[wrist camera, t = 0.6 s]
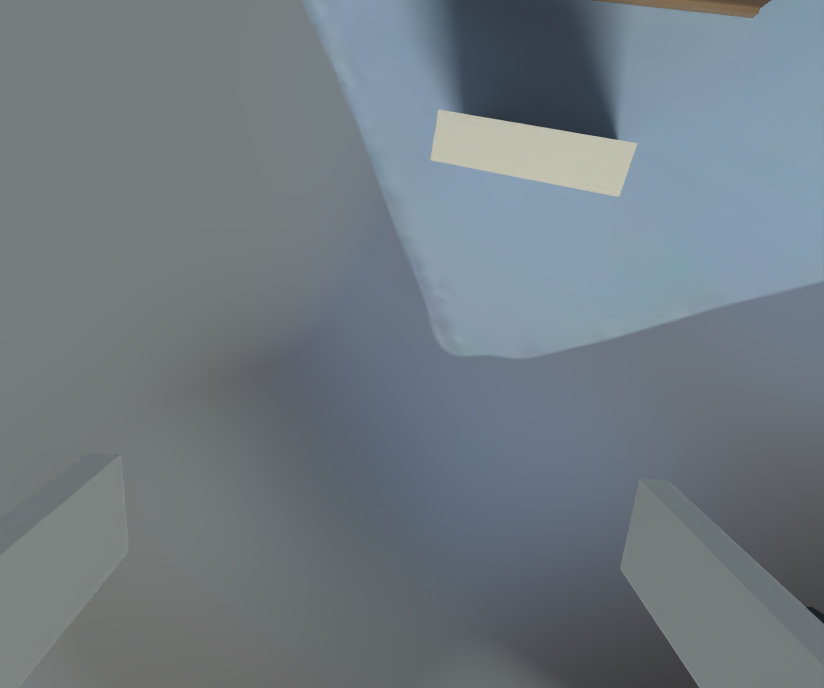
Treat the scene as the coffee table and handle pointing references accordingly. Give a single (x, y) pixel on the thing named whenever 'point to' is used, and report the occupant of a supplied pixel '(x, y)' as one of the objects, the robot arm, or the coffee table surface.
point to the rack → (703, 5)
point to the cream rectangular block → (532, 152)
